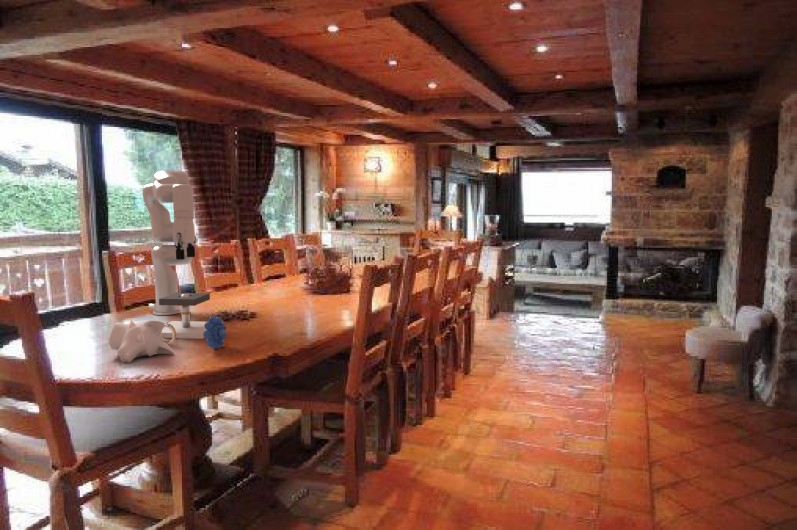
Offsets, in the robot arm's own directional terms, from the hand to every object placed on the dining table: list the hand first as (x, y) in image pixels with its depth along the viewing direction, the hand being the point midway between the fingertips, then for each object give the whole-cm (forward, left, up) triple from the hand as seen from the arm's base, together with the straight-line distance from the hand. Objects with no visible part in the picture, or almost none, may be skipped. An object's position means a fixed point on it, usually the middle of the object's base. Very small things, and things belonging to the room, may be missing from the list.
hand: (185, 258), depth 219 cm
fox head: (+3, -41, -29) cm, 51 cm away
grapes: (+25, -29, -29) cm, 48 cm away
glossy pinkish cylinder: (+2, -5, -27) cm, 28 cm away
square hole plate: (+2, -5, -17) cm, 18 cm away
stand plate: (+2, -5, -29) cm, 29 cm away
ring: (+4, -24, -29) cm, 38 cm away
